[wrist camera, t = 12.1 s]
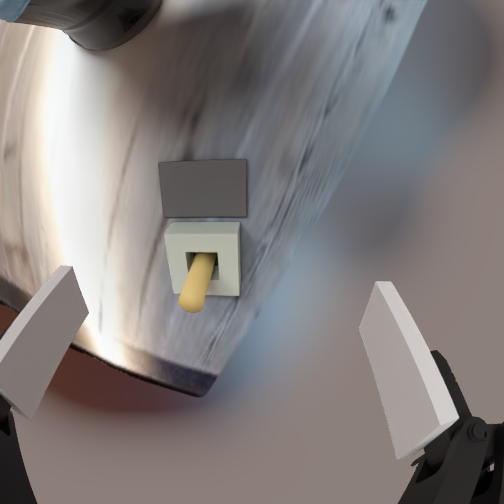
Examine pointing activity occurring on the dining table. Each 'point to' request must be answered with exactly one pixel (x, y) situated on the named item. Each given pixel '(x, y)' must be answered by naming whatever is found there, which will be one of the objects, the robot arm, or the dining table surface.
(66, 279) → the robot arm
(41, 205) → the dining table surface
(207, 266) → the peg
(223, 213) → the mat
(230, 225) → the hole block
